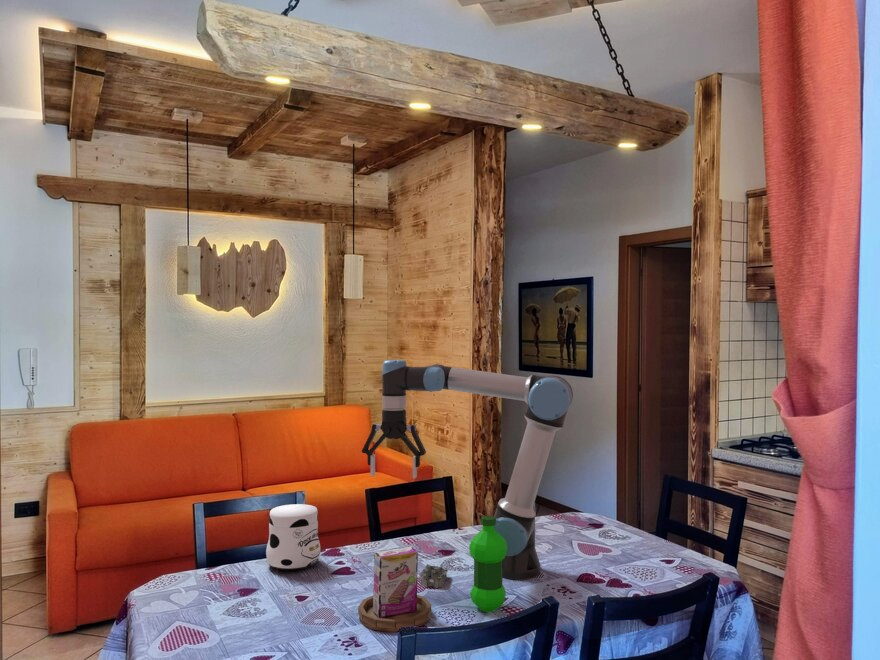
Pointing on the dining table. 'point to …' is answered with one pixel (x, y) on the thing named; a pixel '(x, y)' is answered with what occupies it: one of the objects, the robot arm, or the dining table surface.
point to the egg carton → (433, 576)
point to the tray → (394, 621)
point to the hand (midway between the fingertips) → (393, 476)
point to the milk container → (293, 537)
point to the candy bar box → (395, 582)
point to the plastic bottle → (488, 566)
